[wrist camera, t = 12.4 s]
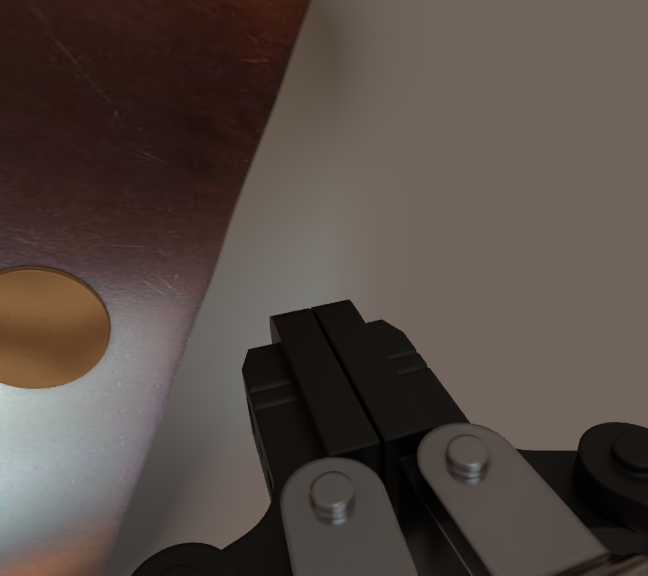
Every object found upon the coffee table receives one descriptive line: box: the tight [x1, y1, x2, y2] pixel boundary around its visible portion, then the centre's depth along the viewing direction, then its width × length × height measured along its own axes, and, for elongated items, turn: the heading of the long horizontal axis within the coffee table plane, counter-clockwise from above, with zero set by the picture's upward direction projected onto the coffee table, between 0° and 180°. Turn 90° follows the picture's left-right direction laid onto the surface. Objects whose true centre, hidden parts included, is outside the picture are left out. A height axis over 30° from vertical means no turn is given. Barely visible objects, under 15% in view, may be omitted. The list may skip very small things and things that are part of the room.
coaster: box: [0, 266, 110, 389], centre depth 38 cm, size 9×9×1 cm
